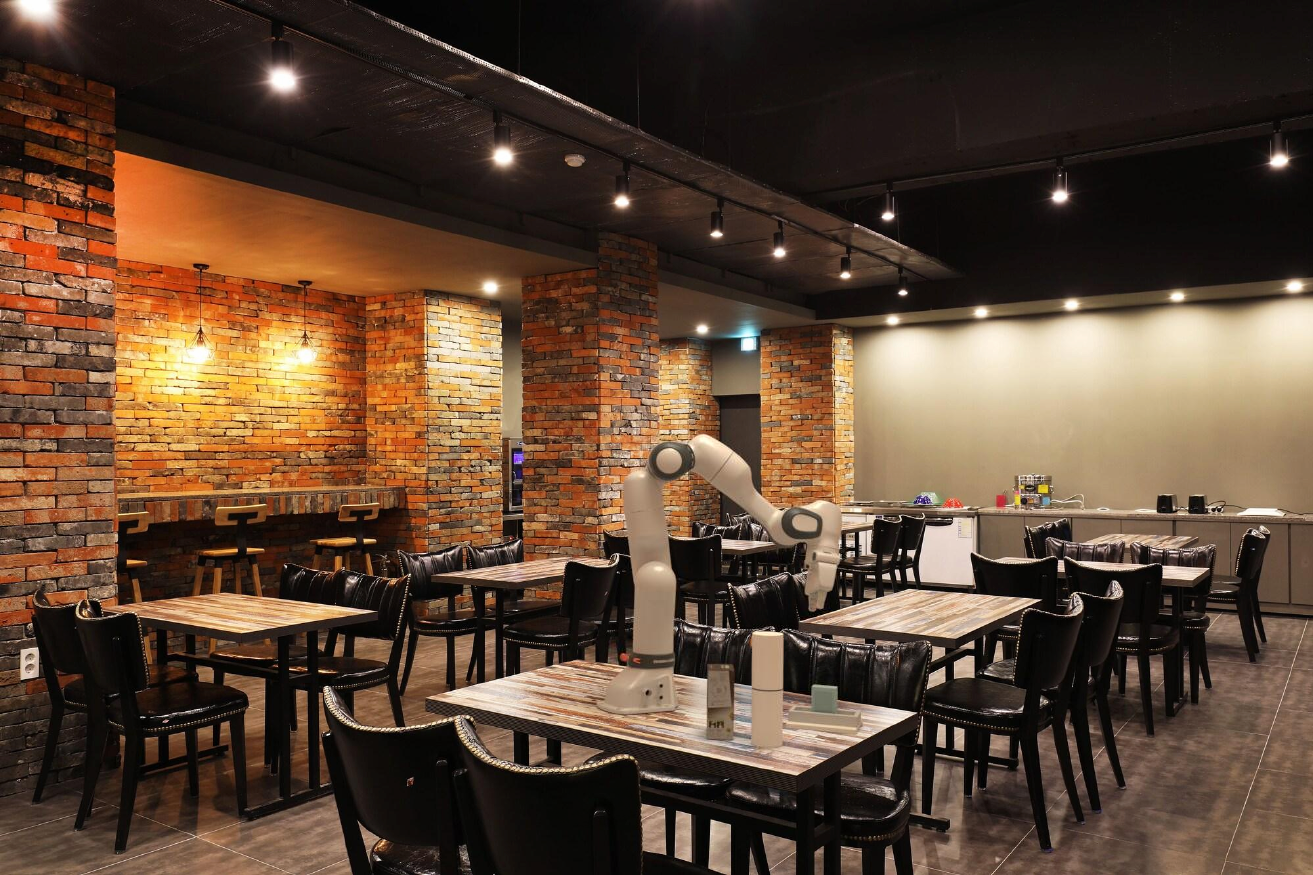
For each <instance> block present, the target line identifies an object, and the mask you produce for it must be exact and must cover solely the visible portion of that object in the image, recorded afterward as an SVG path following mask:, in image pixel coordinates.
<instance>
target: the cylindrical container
mask: <svg viewBox="0 0 1313 875" xmlns="http://www.w3.org/2000/svg"><path fill="white" fill-rule="evenodd" d="M751 634H752V636H751V649H752V650H751V652H752V653H751V717H750V718H751V721H750V722H751V726H750V727H751V730H750V732H751V733H750V736H751V737H750V739H751V740H750V742H751V743H750V744H751V745H752V746H754V747H758V748H765V749H774V748H780V747H782V746H783V739H784V738H783V736H784V735H783V734H784V733H783V726H784V724H783V723H784V721H783V720H784V719H783V717H784V714H783V712H784V710H783V708H784V702H783V701H784V699H783V698H784V697H783V696H784V633H782V632H776V631H753V632H752V633H751Z"/></svg>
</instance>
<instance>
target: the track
mask: <svg viewBox="0 0 1313 875" xmlns="http://www.w3.org/2000/svg"><path fill="white" fill-rule="evenodd" d="M811 710H812V706H810V705H809V706H808V705H807V706H806V705H795V704H794V705H792V706H791V708H789V710H787V722H786V723H785V728H787V729H797V730H805V731H806V730H807V731H817V732H826V733H838V734H849V735H857V733H858V732H859V730H860V728H861V726H862V724H863V718H862V710H854V709H843V708H842V709H841V708H837V714H831V713H819V712H811ZM861 723H862V724H861ZM860 725H861V726H860ZM859 727H860V728H859ZM858 729H859V730H858Z"/></svg>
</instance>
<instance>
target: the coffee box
mask: <svg viewBox="0 0 1313 875" xmlns="http://www.w3.org/2000/svg"><path fill="white" fill-rule="evenodd" d="M706 672H707V673H706V739H707V740H726V741H727V740H731V741H733V740H734V735H735V734H734V732H735V731H734V724H735V722H734V721H735V719H734V718H735V668H734V664H733V663H732V664H731V663H708V664H707V671H706Z"/></svg>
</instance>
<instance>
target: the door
mask: <svg viewBox="0 0 1313 875" xmlns="http://www.w3.org/2000/svg"><path fill="white" fill-rule="evenodd" d="M811 707H812V710H811V712H819V713H831V714H837V709H838V686H834V685H822V684H813V685H812V686H811Z"/></svg>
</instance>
